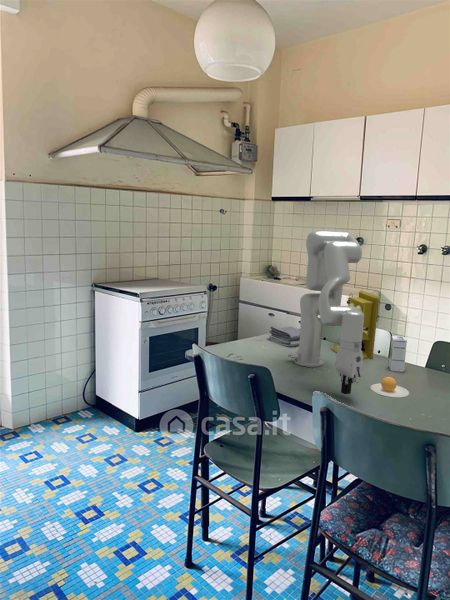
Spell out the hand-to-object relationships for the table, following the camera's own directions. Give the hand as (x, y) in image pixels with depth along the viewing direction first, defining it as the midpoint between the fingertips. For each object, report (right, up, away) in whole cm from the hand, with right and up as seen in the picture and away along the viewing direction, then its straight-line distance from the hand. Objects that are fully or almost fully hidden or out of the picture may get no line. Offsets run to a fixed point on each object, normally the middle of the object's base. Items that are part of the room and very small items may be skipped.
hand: (345, 393), depth 165 cm
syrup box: (+31, +3, +34) cm, 47 cm away
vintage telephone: (+17, +8, +57) cm, 60 cm away
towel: (-11, +11, +72) cm, 74 cm away
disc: (+19, -1, +9) cm, 21 cm away
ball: (+18, +2, +8) cm, 20 cm away
